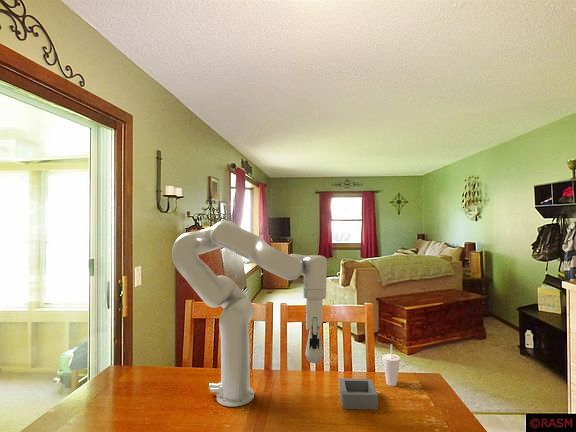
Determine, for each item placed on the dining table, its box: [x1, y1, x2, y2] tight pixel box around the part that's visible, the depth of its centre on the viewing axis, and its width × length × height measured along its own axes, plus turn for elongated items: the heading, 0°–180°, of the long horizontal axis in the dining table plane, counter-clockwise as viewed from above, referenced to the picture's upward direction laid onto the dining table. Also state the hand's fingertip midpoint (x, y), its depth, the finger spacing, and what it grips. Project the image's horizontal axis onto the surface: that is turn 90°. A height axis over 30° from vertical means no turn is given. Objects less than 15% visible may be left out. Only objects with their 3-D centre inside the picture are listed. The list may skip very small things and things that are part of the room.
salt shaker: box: [305, 327, 324, 364], centre depth 115 cm, size 6×6×13 cm
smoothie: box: [381, 343, 401, 387], centre depth 126 cm, size 6×6×14 cm
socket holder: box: [338, 377, 379, 410], centre depth 115 cm, size 11×11×4 cm
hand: (314, 347), depth 115 cm, fingers closed on salt shaker, 3 cm apart
